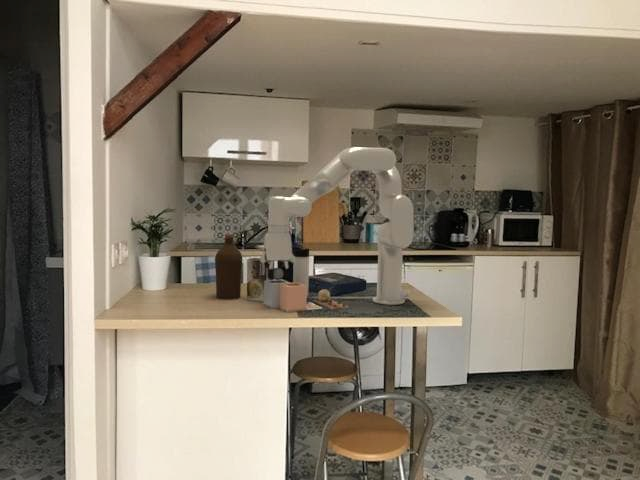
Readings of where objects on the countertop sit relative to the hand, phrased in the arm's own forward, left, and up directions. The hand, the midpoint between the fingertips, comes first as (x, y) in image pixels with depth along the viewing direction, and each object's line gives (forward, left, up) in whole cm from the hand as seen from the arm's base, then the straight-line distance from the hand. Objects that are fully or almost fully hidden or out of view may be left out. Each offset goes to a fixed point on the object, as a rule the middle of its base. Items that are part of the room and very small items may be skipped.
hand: (277, 278), depth 186 cm
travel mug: (-15, -11, -10) cm, 21 cm away
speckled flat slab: (-20, +6, -10) cm, 23 cm away
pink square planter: (-3, +8, -10) cm, 13 cm away
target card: (-11, +6, -10) cm, 16 cm away
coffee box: (+2, -12, -10) cm, 16 cm away
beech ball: (-19, +2, -7) cm, 20 cm away
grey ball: (0, 0, +2) cm, 2 cm away
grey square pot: (0, 0, -10) cm, 10 cm away
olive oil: (+12, -21, -10) cm, 26 cm away
